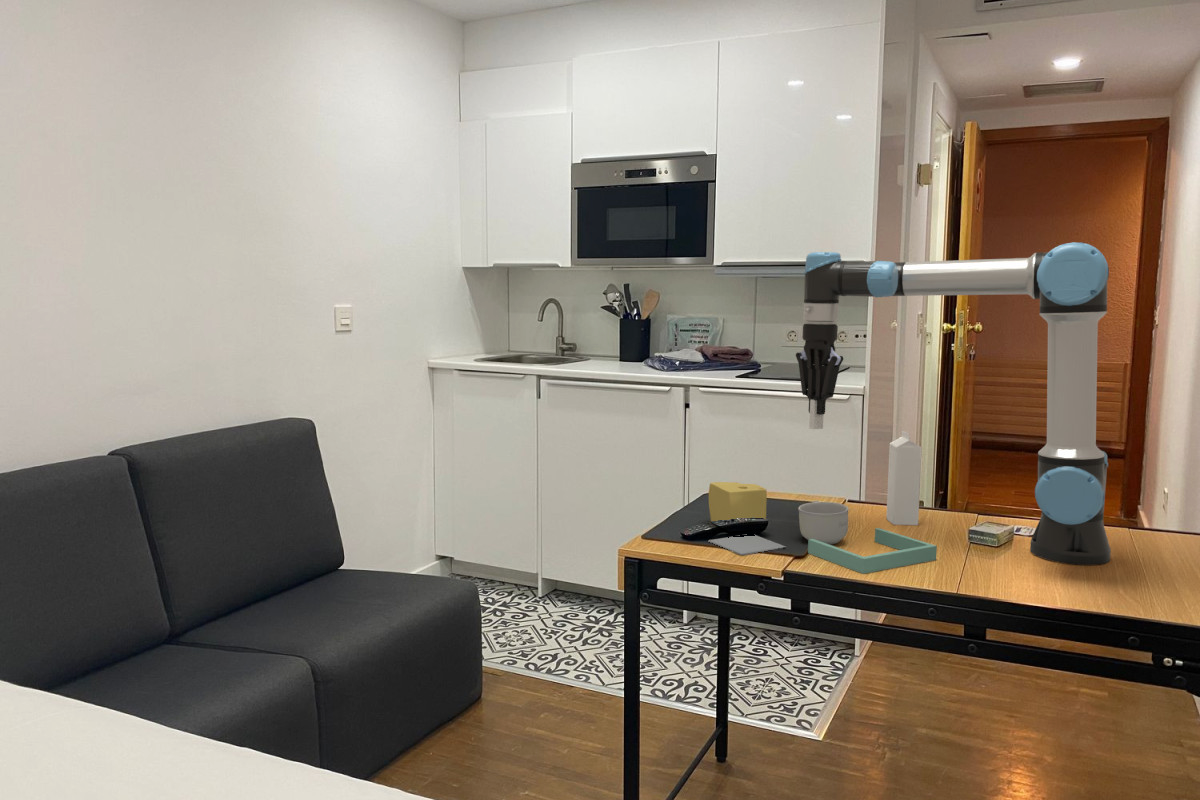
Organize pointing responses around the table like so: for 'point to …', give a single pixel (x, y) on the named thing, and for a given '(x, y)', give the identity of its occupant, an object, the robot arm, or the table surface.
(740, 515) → the cheese
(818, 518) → the teacup
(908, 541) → the cup bay
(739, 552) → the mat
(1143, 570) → the table surface
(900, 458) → the milk
